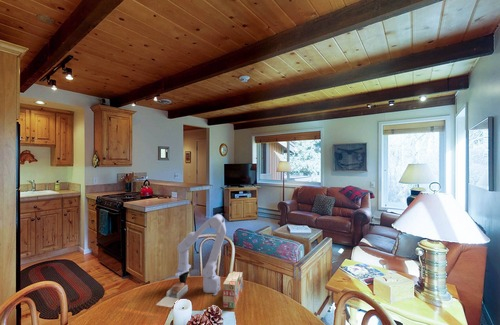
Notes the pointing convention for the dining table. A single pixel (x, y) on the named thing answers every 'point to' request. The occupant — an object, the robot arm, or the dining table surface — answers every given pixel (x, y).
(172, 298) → the chute
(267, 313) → the dining table surface
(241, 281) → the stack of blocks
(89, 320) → the dining table surface
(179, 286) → the block
